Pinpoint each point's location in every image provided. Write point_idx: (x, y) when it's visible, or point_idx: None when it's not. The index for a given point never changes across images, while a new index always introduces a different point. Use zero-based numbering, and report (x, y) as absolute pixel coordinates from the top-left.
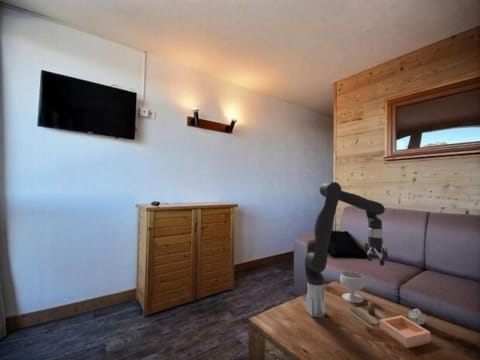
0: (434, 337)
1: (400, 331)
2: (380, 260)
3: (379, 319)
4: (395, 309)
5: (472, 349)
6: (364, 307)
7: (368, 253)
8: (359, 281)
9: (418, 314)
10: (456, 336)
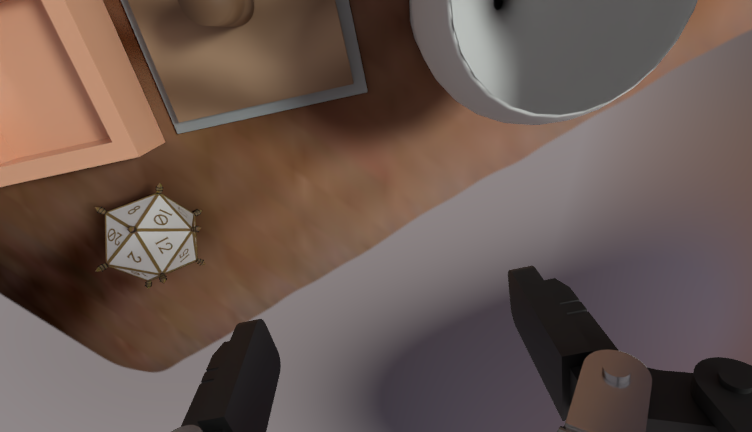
0: (70, 218)
1: (53, 69)
2: (213, 394)
3: (162, 14)
4: (321, 209)
5: (18, 297)
6: (319, 2)
7: (588, 386)
8: (429, 18)
9: (109, 240)
10: (102, 308)
